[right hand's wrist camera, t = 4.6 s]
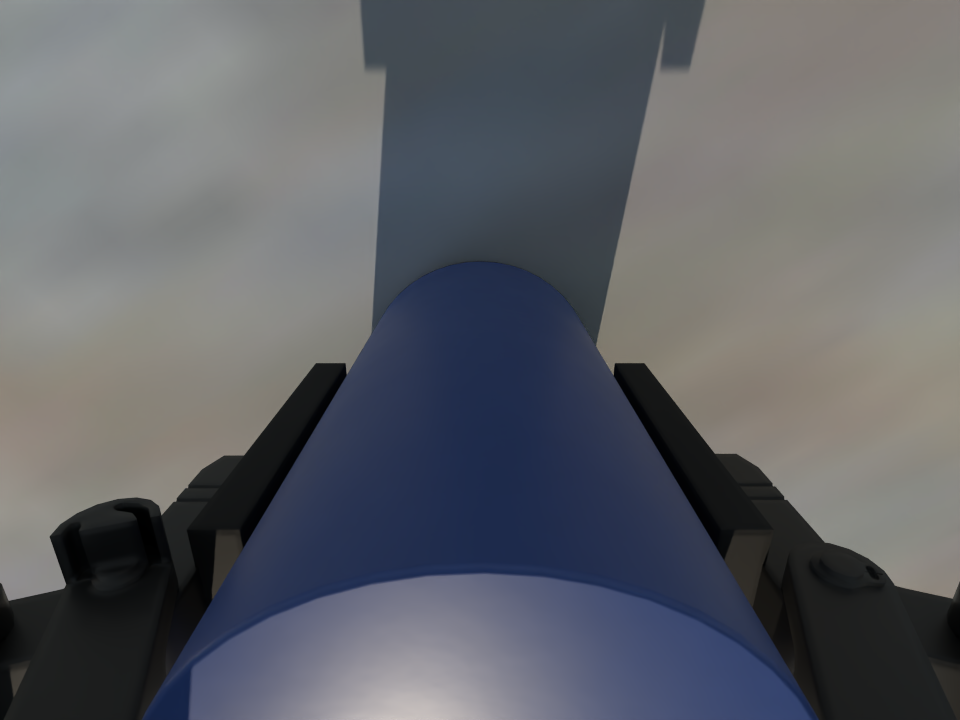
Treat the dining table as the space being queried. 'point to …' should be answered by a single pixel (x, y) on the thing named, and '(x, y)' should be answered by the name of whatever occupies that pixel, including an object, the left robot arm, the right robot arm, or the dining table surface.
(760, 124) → the dining table surface
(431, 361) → the canister
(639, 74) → the dining table surface
